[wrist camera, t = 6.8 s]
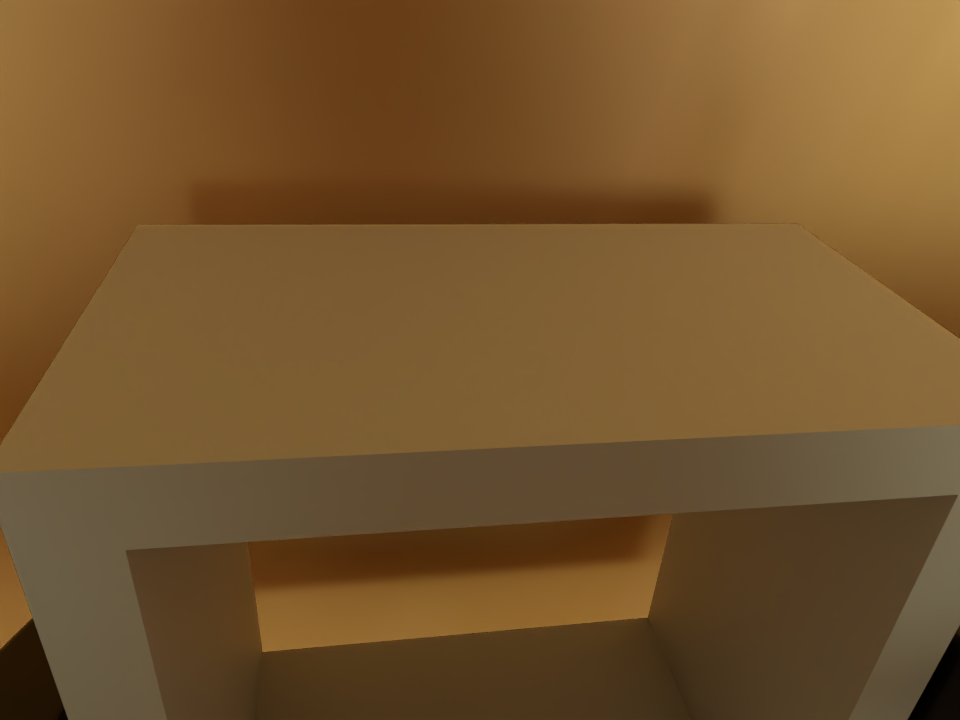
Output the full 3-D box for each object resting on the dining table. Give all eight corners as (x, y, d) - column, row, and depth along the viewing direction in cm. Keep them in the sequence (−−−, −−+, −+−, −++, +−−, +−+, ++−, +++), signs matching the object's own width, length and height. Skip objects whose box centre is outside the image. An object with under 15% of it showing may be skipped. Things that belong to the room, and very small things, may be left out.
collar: (796, 224, 8) (1073, 419, 5) (679, 641, 11) (801, 910, 8) (138, 224, 7) (-17, 473, 4) (220, 685, 10) (170, 1012, 7)
